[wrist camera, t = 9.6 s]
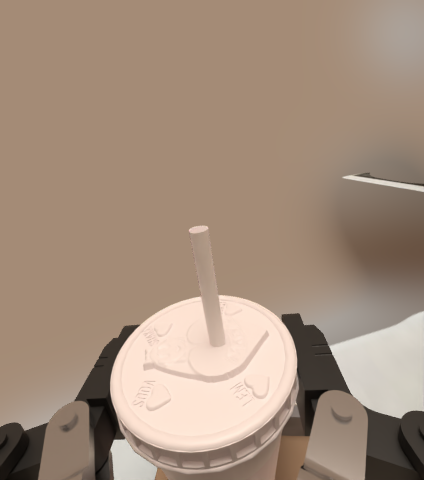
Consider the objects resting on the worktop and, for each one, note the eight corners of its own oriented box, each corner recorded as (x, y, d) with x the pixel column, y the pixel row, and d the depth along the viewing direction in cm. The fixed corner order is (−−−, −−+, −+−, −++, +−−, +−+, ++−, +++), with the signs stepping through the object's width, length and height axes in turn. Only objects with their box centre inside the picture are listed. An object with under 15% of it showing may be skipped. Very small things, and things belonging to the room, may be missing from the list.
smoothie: (329, 578, 10) (360, 262, 5) (165, 626, 10) (-16, 336, 4) (271, 414, 16) (255, 191, 10) (168, 439, 15) (95, 219, 10)
